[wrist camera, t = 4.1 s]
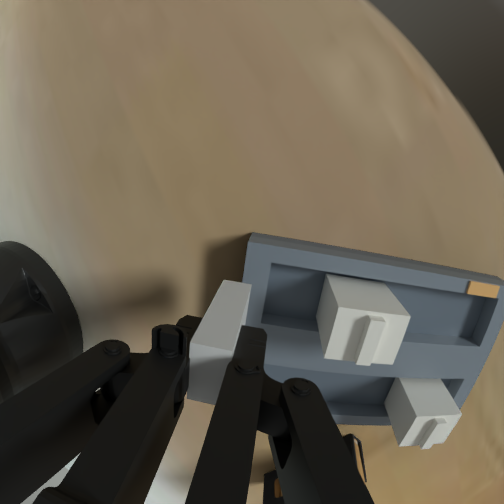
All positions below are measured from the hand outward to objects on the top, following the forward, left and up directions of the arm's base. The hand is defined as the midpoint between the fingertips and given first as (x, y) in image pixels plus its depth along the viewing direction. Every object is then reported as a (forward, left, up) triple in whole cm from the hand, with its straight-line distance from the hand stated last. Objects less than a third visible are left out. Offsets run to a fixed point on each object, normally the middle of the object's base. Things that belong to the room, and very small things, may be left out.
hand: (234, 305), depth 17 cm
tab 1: (+7, 0, -3) cm, 8 cm away
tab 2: (+15, -7, -3) cm, 17 cm away
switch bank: (+10, -3, -5) cm, 12 cm away
